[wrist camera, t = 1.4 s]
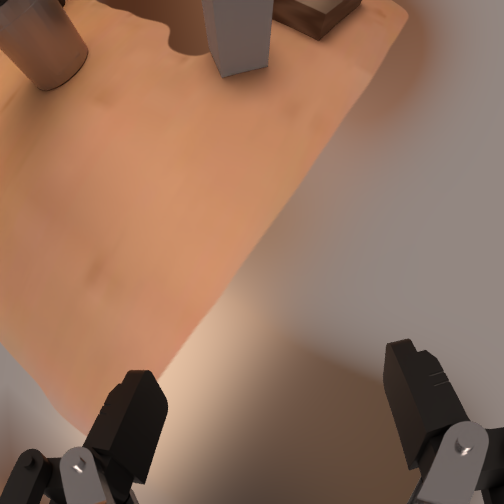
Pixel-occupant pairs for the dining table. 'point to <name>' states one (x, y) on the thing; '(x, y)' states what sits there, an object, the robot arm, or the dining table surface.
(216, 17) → the grey block
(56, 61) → the robot arm
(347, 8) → the walnut plinth
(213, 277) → the dining table surface
